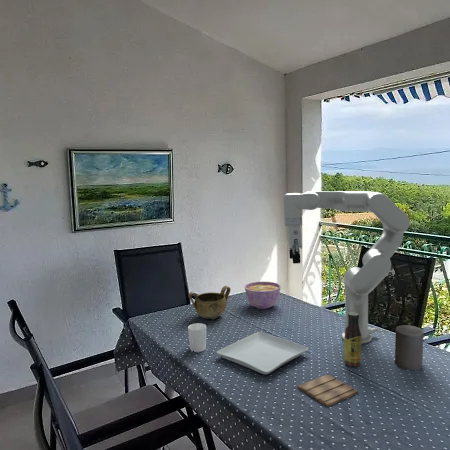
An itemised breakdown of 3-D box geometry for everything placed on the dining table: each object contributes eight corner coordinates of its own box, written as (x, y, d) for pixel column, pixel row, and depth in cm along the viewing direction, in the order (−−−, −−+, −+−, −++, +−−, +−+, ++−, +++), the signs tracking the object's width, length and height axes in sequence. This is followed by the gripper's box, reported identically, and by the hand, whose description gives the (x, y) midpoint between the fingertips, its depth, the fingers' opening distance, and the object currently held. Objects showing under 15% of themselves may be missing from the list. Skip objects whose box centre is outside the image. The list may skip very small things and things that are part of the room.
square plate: (258, 338, 188) (258, 330, 187) (310, 356, 168) (310, 347, 168) (215, 359, 169) (214, 350, 168) (267, 381, 150) (267, 371, 149)
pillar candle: (389, 361, 160) (389, 324, 158) (407, 356, 164) (408, 320, 161) (409, 373, 151) (410, 333, 149) (428, 367, 155) (430, 328, 153)
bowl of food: (288, 305, 230) (288, 285, 229) (266, 315, 216) (265, 293, 215) (260, 298, 244) (259, 279, 243) (237, 307, 230) (236, 287, 228)
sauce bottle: (352, 369, 155) (352, 318, 153) (340, 362, 161) (340, 313, 158) (365, 364, 158) (365, 314, 156) (353, 358, 164) (353, 309, 161)
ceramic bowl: (224, 308, 229) (223, 282, 227) (237, 318, 214) (236, 289, 212) (185, 315, 220) (184, 288, 218) (196, 326, 205) (195, 296, 203)
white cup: (210, 346, 180) (209, 324, 179) (202, 354, 173) (200, 331, 172) (194, 344, 184) (193, 322, 182) (185, 351, 177) (184, 328, 175)
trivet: (327, 376, 151) (327, 373, 150) (357, 393, 139) (357, 390, 139) (297, 388, 143) (297, 385, 143) (327, 406, 132) (327, 403, 131)
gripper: (305, 223, 170) (307, 264, 172) (299, 219, 187) (300, 256, 189) (287, 224, 170) (289, 265, 172) (282, 220, 187) (283, 257, 190)
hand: (294, 260), depth 181 cm, fingers open, 9 cm apart
